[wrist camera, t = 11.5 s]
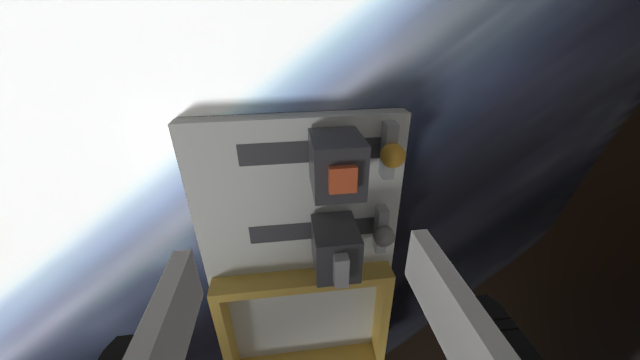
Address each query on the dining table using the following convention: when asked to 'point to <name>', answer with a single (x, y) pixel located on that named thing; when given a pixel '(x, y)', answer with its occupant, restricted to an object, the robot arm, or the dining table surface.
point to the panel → (288, 232)
